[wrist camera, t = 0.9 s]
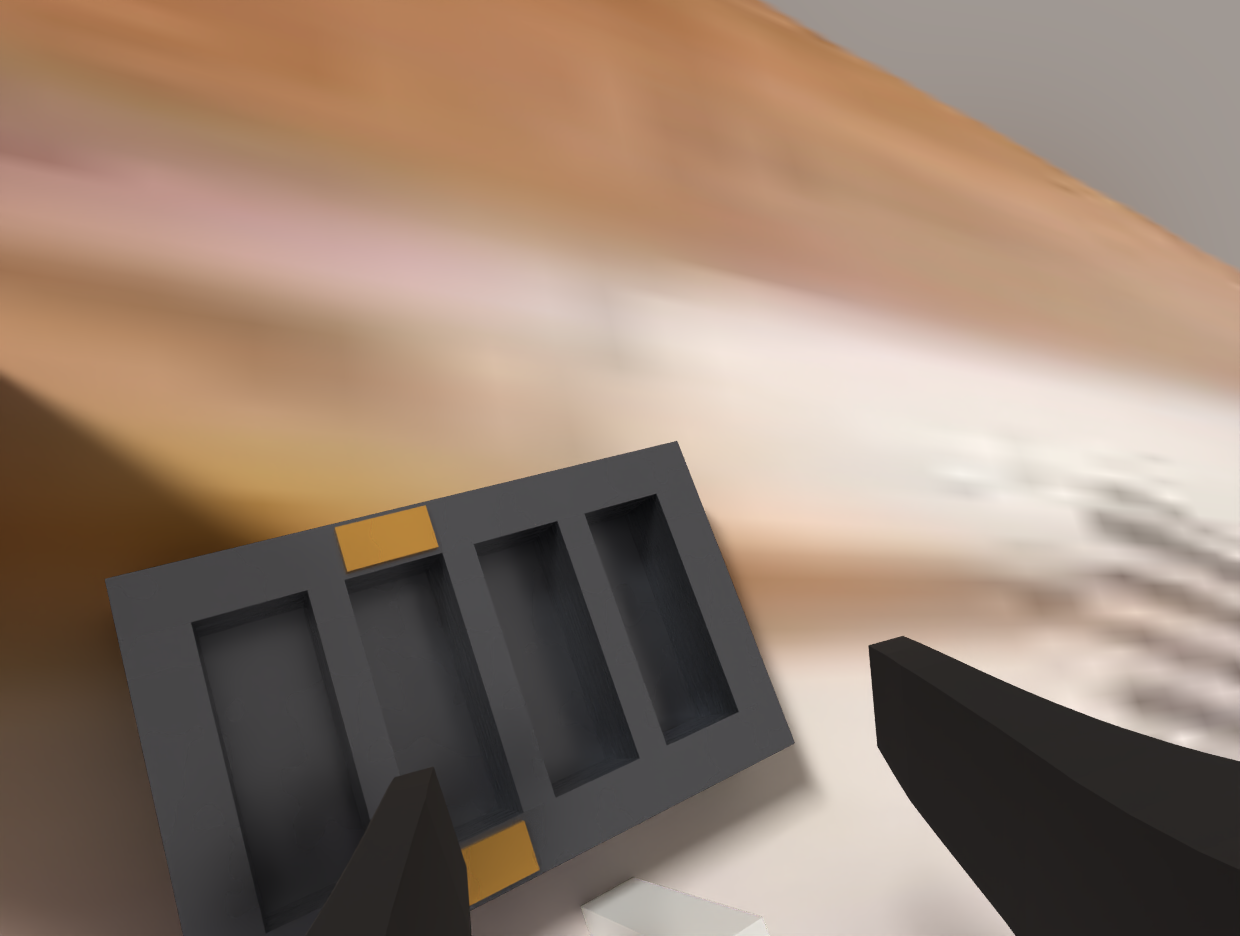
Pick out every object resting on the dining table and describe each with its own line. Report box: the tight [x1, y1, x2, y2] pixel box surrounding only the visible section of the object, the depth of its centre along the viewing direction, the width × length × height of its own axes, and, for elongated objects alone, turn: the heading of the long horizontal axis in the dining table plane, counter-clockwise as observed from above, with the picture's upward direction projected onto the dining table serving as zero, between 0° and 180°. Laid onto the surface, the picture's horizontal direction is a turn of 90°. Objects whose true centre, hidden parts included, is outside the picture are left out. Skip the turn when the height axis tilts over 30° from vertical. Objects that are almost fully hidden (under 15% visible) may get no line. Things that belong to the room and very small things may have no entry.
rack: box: [105, 441, 795, 936], centre depth 22 cm, size 10×16×3 cm, turn 112°
